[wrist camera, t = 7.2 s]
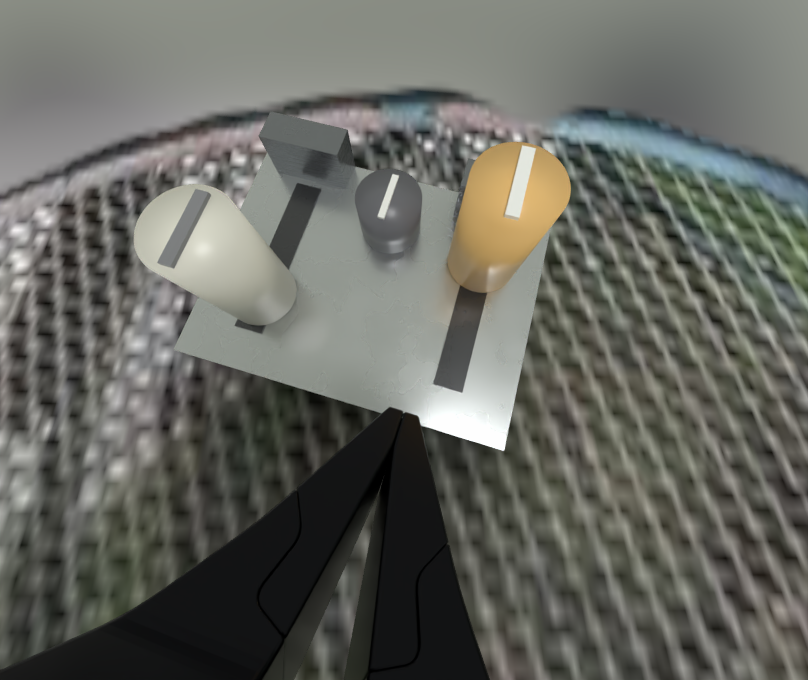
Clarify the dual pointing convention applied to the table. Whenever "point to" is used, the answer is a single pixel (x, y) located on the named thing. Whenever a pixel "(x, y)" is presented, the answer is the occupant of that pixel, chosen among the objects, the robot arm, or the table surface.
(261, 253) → the cream knob
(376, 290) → the console plate
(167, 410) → the table surface
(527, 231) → the orange knob
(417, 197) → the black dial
